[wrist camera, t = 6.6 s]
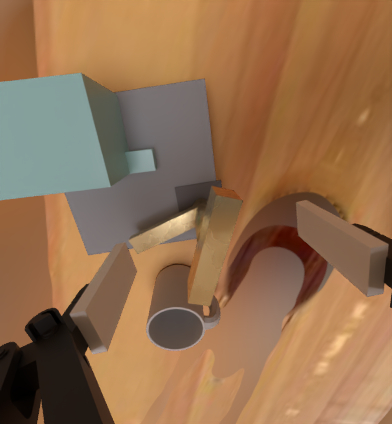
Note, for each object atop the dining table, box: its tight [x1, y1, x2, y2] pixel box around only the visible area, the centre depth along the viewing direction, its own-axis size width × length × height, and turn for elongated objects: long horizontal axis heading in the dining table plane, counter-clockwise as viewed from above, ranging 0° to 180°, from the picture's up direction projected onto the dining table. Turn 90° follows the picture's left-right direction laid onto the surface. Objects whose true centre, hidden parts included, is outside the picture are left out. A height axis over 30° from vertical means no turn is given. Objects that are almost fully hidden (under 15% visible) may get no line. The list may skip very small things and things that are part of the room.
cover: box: [0, 73, 157, 200], centre depth 17 cm, size 10×7×7 cm, turn 96°
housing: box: [64, 79, 222, 255], centre depth 24 cm, size 16×16×6 cm
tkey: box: [128, 186, 243, 306], centre depth 18 cm, size 10×8×10 cm
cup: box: [146, 265, 220, 351], centre depth 30 cm, size 7×10×9 cm
